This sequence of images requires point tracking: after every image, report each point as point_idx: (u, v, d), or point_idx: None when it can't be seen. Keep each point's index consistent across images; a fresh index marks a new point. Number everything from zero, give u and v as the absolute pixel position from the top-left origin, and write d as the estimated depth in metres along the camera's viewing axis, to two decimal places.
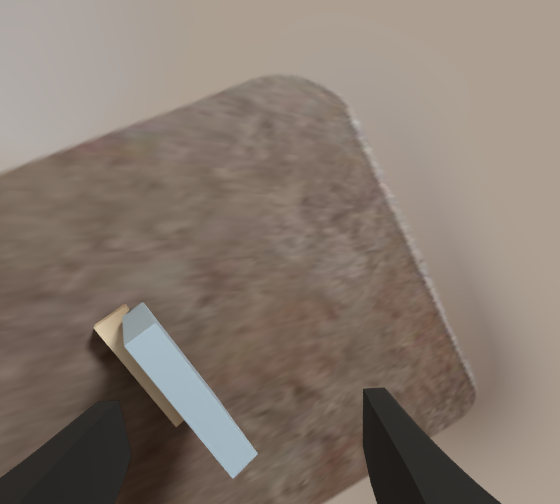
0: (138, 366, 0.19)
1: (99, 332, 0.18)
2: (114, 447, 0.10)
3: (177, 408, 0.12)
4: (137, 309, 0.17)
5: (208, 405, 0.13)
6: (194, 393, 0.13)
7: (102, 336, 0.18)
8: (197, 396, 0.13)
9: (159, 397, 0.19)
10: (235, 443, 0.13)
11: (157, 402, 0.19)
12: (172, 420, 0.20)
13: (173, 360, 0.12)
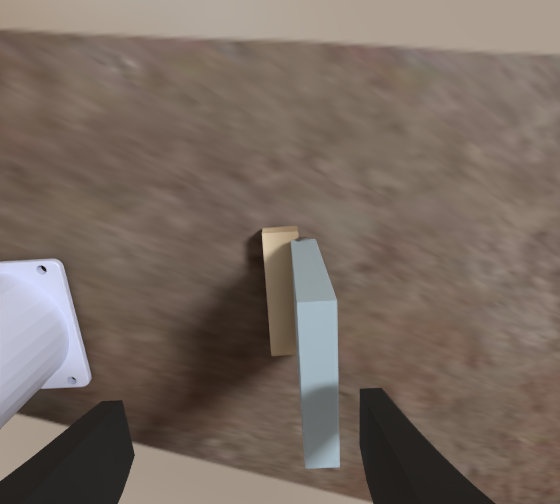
0: (275, 288, 0.19)
1: (264, 240, 0.18)
2: (118, 447, 0.10)
3: (302, 384, 0.12)
4: (309, 246, 0.16)
5: (329, 400, 0.12)
6: (325, 382, 0.12)
7: (264, 245, 0.18)
8: (325, 386, 0.12)
9: (274, 324, 0.19)
10: (327, 445, 0.12)
11: (270, 327, 0.19)
12: (272, 348, 0.20)
13: (328, 343, 0.11)
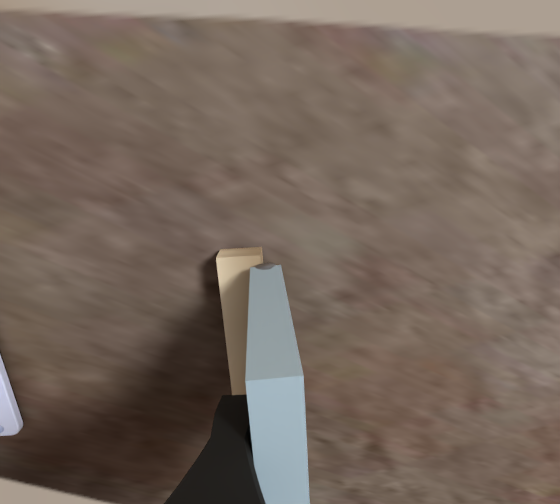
0: (234, 323, 0.15)
1: (218, 265, 0.15)
2: None
3: None
4: (272, 277, 0.13)
5: None
6: (290, 484, 0.08)
7: (218, 272, 0.15)
8: (291, 489, 0.08)
9: (235, 366, 0.16)
10: None
11: (230, 368, 0.16)
12: (233, 394, 0.16)
13: (292, 433, 0.08)
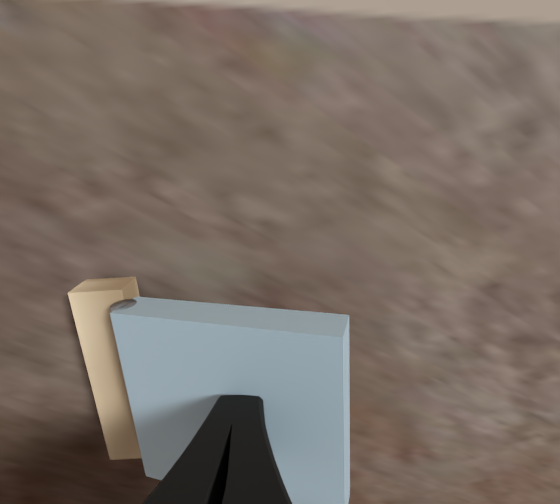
0: (100, 370, 0.13)
1: (72, 302, 0.12)
2: None
3: (344, 431, 0.10)
4: (160, 304, 0.11)
5: (348, 429, 0.11)
6: (347, 412, 0.10)
7: (73, 309, 0.12)
8: (348, 416, 0.10)
9: (108, 419, 0.13)
10: (348, 479, 0.11)
11: (102, 422, 0.13)
12: (109, 450, 0.14)
13: (347, 366, 0.10)
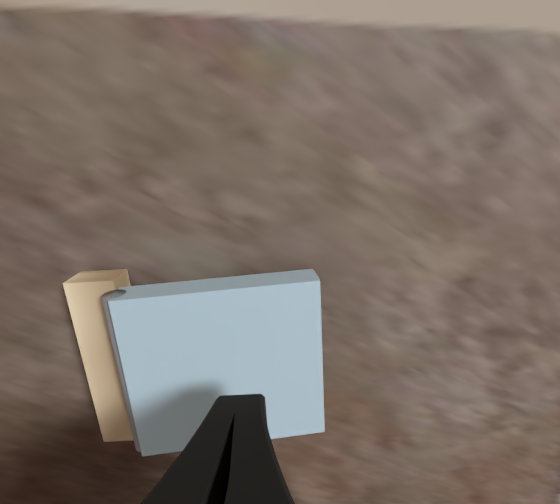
0: (94, 356, 0.14)
1: (67, 292, 0.13)
2: None
3: (321, 353, 0.13)
4: (152, 288, 0.13)
5: None
6: None
7: (68, 299, 0.13)
8: None
9: (101, 402, 0.14)
10: None
11: (96, 405, 0.14)
12: (103, 432, 0.15)
13: None
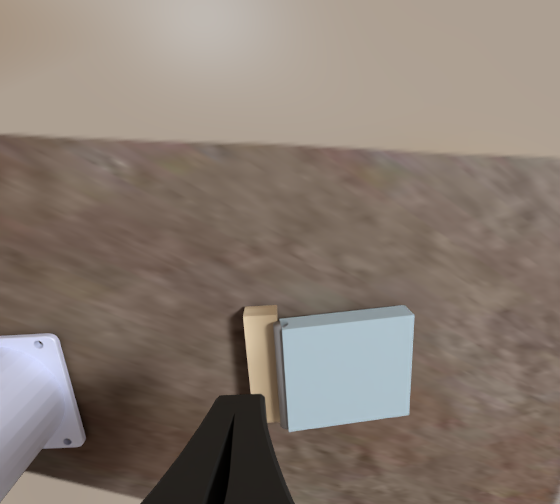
0: (256, 364, 0.20)
1: (245, 322, 0.19)
2: None
3: (411, 361, 0.20)
4: (303, 319, 0.19)
5: None
6: None
7: (245, 326, 0.19)
8: None
9: None
10: None
11: None
12: None
13: None
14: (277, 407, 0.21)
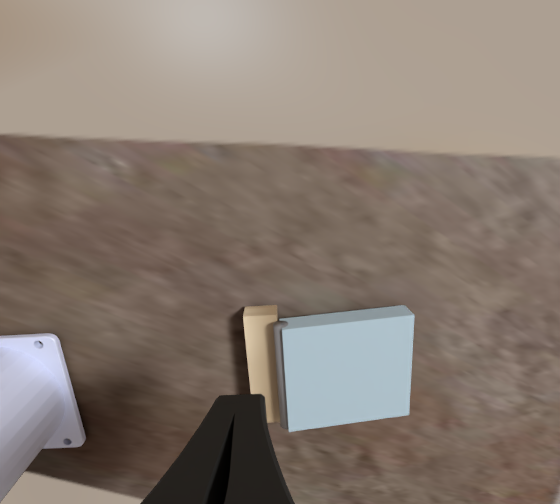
0: (256, 364, 0.20)
1: (245, 322, 0.19)
2: None
3: (411, 361, 0.20)
4: (303, 319, 0.19)
5: None
6: None
7: (245, 326, 0.19)
8: None
9: None
10: None
11: None
12: None
13: None
14: (277, 407, 0.21)
